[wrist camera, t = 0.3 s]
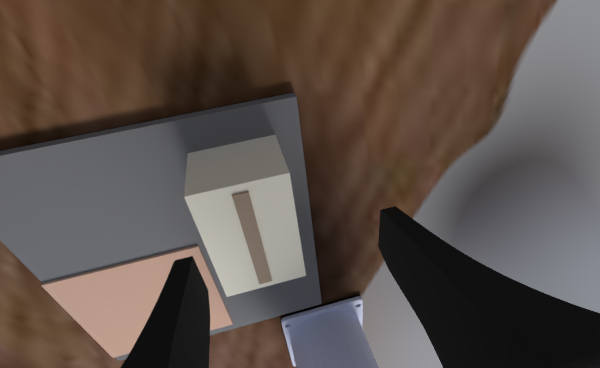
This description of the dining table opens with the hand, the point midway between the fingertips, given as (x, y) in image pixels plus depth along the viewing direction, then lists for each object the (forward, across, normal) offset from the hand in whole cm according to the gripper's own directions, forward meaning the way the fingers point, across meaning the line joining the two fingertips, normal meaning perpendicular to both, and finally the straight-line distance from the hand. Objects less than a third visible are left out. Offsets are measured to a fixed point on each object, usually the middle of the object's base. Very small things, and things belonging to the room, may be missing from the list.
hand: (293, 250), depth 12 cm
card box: (+8, +2, +3) cm, 9 cm away
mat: (+9, +7, +8) cm, 13 cm away
